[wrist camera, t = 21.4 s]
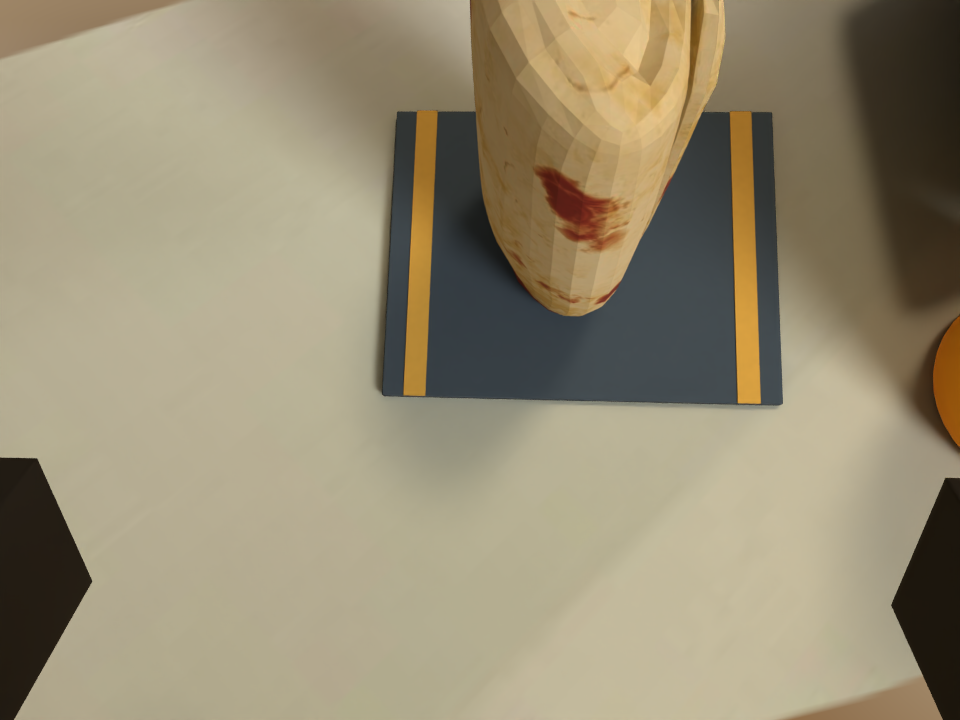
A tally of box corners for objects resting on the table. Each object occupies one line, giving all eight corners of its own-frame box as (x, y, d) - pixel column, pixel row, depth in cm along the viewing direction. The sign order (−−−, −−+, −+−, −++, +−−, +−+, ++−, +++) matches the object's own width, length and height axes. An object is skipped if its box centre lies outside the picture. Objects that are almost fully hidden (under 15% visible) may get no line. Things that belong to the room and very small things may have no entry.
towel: (383, 396, 37) (381, 394, 36) (398, 116, 39) (396, 110, 39) (779, 405, 36) (783, 403, 35) (769, 116, 38) (772, 111, 38)
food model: (465, 164, 38) (403, -197, 18) (600, 130, 38) (682, -270, 18) (515, 358, 36) (505, 186, 17) (657, 322, 36) (815, 107, 17)
